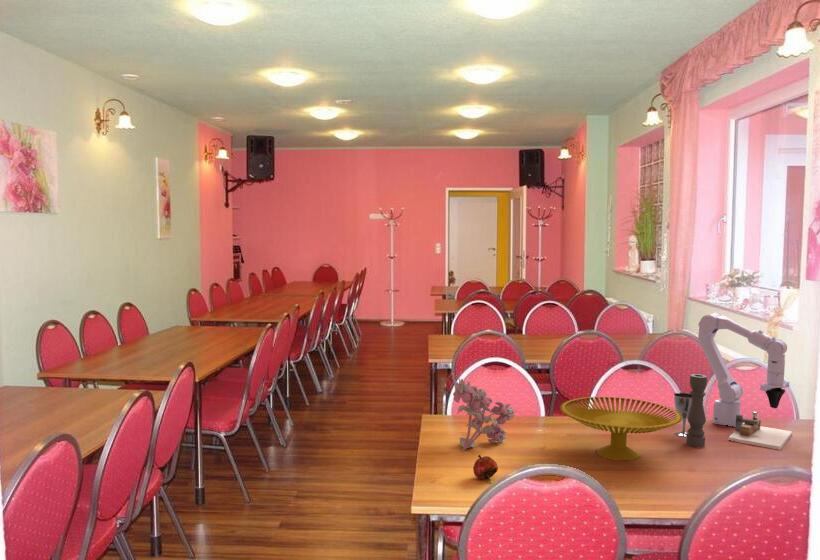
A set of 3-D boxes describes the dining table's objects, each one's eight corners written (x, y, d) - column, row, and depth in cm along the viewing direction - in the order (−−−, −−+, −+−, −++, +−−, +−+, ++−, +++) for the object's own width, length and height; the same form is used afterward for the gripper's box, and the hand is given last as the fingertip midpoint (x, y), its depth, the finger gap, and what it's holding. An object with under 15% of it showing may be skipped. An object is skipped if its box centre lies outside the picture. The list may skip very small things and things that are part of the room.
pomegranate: (500, 487, 217) (491, 459, 224) (503, 474, 212) (494, 446, 219) (477, 491, 216) (468, 463, 223) (479, 478, 211) (470, 450, 218)
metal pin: (750, 419, 270) (751, 412, 269) (752, 418, 271) (752, 410, 271) (757, 420, 268) (758, 413, 268) (759, 419, 270) (759, 411, 270)
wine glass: (670, 435, 264) (672, 396, 263) (673, 430, 271) (675, 391, 270) (693, 439, 260) (695, 398, 259) (696, 433, 267) (698, 394, 266)
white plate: (728, 440, 259) (728, 437, 259) (743, 426, 277) (743, 423, 277) (780, 449, 249) (780, 446, 249) (791, 434, 267) (792, 431, 267)
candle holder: (706, 448, 250) (709, 378, 248) (687, 446, 251) (690, 377, 249) (702, 442, 256) (706, 374, 254) (684, 441, 257) (687, 373, 255)
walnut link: (750, 425, 273) (750, 417, 273) (761, 427, 270) (762, 419, 270) (738, 434, 262) (738, 426, 261) (750, 436, 259) (750, 428, 259)
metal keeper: (735, 430, 267) (736, 415, 266) (736, 429, 268) (737, 414, 268) (757, 434, 262) (757, 418, 262) (758, 433, 264) (759, 417, 263)
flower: (509, 456, 234) (520, 383, 242) (442, 445, 238) (454, 372, 246) (509, 464, 252) (519, 395, 260) (447, 452, 256) (458, 385, 265)
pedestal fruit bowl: (595, 480, 218) (597, 432, 217) (538, 440, 257) (539, 399, 255) (707, 469, 229) (710, 423, 227) (636, 432, 267) (637, 393, 266)
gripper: (773, 376, 261) (771, 412, 262) (797, 372, 268) (795, 407, 269) (755, 372, 267) (754, 407, 268) (780, 368, 274) (778, 403, 275)
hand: (773, 407), depth 269 cm, fingers closed
